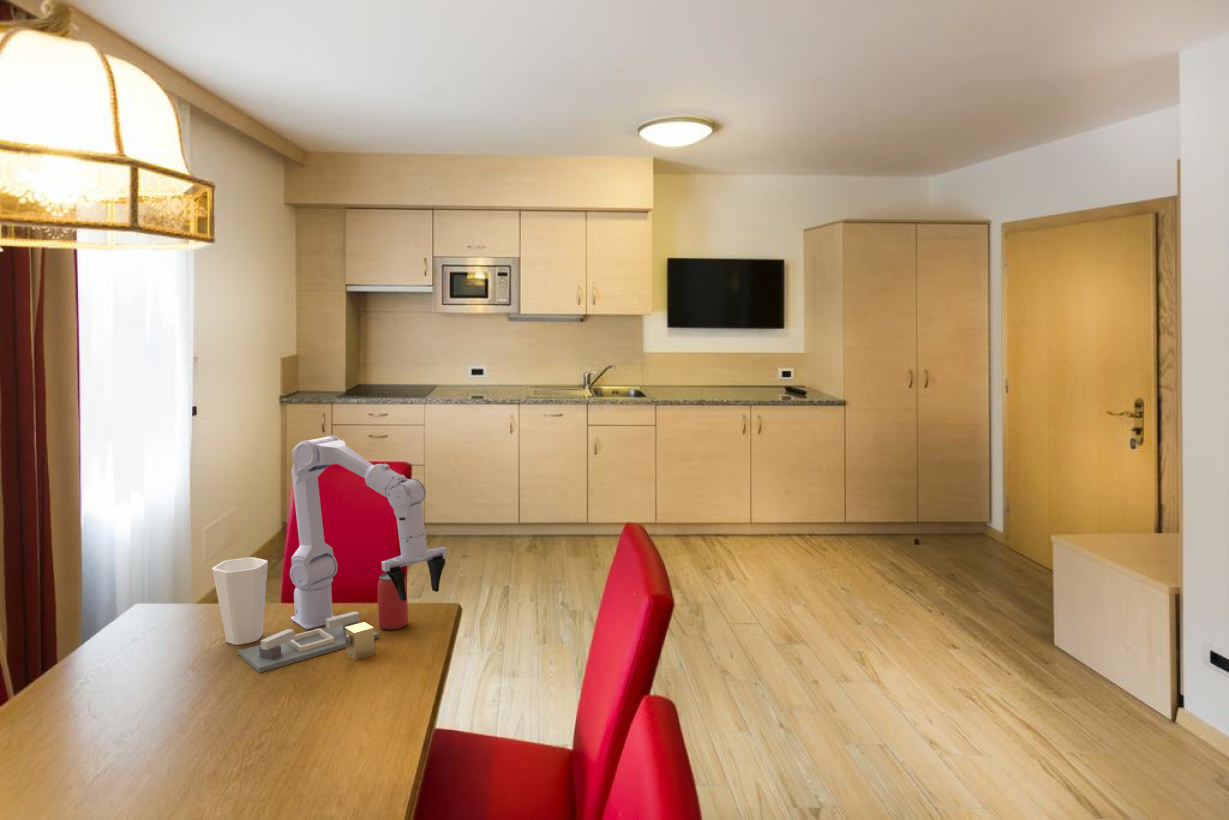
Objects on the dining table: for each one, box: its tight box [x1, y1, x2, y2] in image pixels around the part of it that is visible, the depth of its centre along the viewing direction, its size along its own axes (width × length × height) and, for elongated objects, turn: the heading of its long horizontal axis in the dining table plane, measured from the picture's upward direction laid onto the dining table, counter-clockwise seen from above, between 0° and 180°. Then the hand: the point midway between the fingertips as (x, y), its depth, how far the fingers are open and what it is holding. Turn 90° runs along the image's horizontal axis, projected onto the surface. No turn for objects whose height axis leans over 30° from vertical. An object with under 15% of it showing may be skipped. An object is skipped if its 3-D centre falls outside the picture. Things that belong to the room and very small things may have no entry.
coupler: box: [345, 621, 376, 661], centre depth 170 cm, size 4×6×6 cm
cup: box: [211, 556, 269, 646], centre depth 178 cm, size 11×10×17 cm
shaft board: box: [238, 610, 380, 673], centre depth 175 cm, size 12×26×5 cm, turn 133°
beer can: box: [377, 572, 409, 631], centre depth 186 cm, size 7×7×12 cm
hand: (419, 595), depth 178 cm, fingers open, 7 cm apart
